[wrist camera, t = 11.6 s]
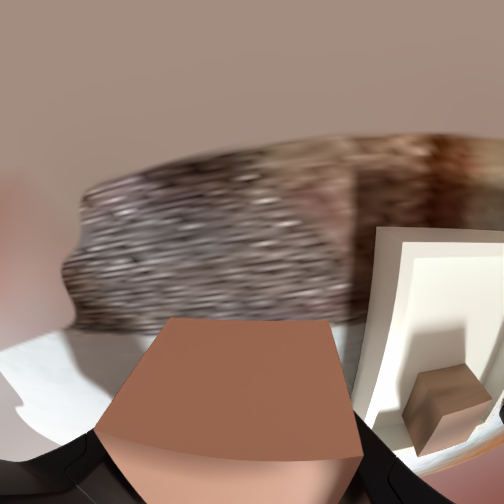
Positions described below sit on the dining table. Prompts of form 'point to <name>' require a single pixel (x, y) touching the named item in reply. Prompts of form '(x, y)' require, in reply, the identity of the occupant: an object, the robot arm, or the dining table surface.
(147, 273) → the dining table surface
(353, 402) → the tray
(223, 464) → the terracotta block
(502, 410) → the drinking cup
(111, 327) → the dining table surface
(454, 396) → the walnut block
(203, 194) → the dining table surface
